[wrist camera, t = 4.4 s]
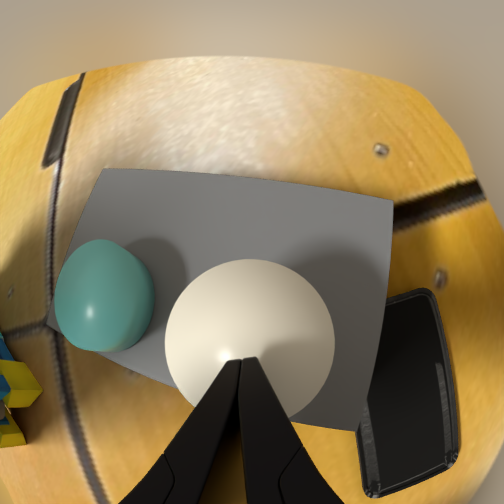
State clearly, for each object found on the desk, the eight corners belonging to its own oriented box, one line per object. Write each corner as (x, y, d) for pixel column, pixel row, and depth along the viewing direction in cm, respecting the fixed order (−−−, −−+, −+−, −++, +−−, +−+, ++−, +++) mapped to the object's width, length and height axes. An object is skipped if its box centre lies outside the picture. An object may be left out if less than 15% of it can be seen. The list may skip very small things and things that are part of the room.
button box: (336, 402, 17) (356, 431, 10) (111, 336, 21) (46, 324, 14) (365, 251, 20) (393, 200, 13) (150, 215, 24) (103, 168, 17)
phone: (365, 502, 13) (333, 313, 18) (362, 495, 14) (331, 315, 19) (459, 463, 12) (433, 283, 17) (453, 459, 13) (427, 286, 19)
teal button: (165, 366, 15) (117, 368, 10) (97, 337, 16) (44, 327, 12) (189, 277, 16) (151, 249, 12) (119, 260, 18) (73, 232, 13)
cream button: (306, 412, 11) (310, 443, 7) (197, 383, 13) (149, 395, 8) (332, 301, 13) (349, 275, 9) (224, 280, 14) (190, 246, 10)
